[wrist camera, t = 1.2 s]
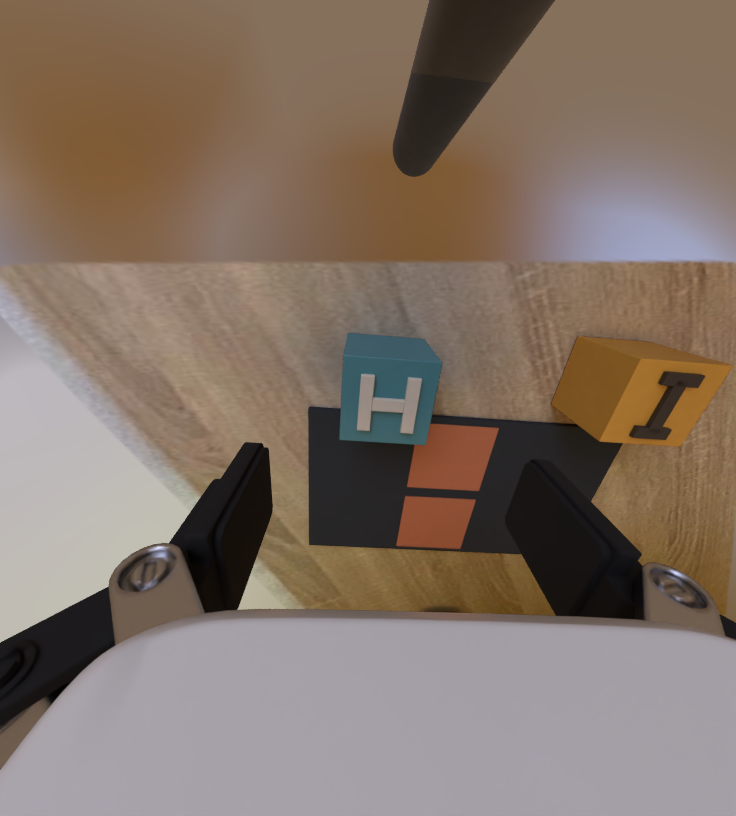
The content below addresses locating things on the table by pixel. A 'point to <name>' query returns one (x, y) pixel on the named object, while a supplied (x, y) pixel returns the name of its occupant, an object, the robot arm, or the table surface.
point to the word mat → (437, 481)
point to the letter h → (388, 389)
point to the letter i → (636, 390)
